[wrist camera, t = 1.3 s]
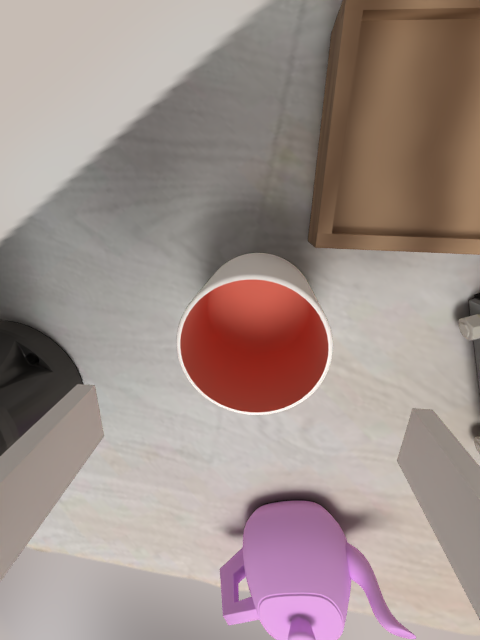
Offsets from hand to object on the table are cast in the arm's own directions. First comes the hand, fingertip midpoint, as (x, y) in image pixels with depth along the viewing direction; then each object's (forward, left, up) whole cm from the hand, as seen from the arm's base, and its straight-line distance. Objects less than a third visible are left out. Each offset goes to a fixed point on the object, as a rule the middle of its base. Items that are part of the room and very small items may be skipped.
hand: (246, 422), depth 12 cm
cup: (0, 0, -17) cm, 17 cm away
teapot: (+7, -31, -17) cm, 36 cm away
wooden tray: (+11, +13, -17) cm, 24 cm away
